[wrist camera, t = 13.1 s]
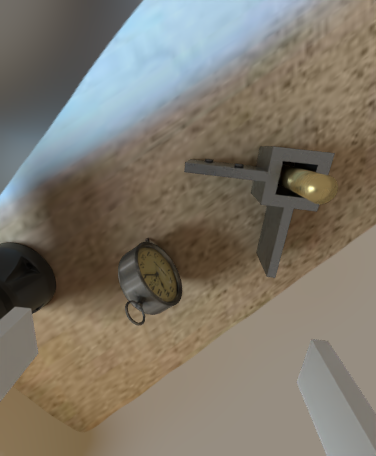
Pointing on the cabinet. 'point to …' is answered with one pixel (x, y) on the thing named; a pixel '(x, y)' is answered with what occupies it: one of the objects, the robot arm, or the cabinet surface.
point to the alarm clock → (149, 280)
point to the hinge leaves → (270, 192)
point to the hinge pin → (308, 184)
